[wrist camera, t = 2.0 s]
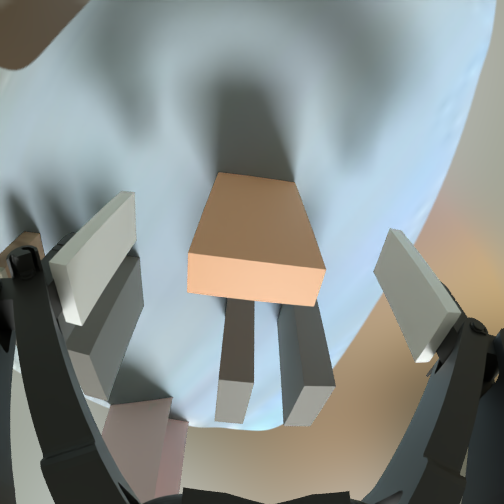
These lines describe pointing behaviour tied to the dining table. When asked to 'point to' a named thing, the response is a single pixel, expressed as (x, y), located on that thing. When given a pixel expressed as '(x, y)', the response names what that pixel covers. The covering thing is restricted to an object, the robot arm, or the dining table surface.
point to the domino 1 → (107, 331)
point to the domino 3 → (303, 364)
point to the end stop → (25, 238)
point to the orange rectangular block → (255, 244)
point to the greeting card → (147, 446)
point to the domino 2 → (236, 362)
